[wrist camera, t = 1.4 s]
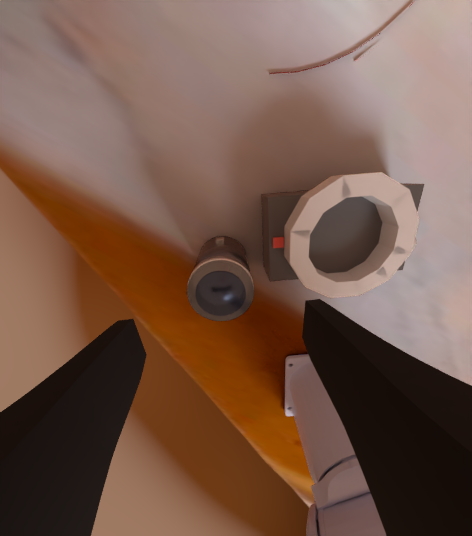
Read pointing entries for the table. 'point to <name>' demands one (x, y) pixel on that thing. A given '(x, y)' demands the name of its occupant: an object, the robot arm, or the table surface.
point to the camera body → (341, 233)
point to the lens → (221, 280)
